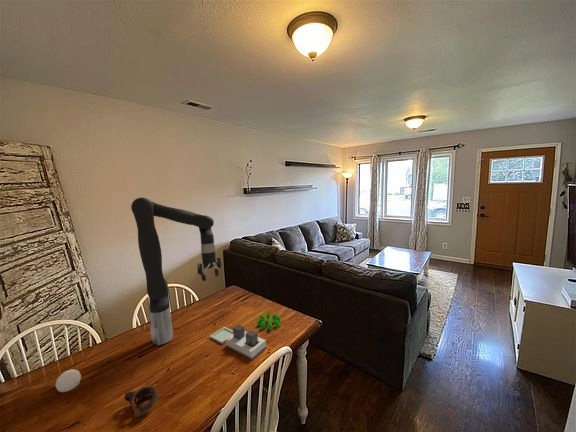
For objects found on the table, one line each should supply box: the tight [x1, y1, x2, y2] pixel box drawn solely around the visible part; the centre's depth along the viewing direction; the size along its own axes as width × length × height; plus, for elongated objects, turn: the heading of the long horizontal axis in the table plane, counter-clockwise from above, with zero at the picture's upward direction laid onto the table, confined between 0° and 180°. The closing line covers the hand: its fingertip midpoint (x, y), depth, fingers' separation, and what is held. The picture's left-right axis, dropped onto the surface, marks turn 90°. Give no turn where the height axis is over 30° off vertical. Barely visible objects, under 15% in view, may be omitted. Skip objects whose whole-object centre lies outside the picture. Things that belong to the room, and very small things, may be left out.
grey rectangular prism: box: [245, 329, 259, 347], centre depth 118 cm, size 4×4×8 cm
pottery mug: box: [124, 385, 159, 418], centre depth 90 cm, size 12×9×8 cm
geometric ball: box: [55, 368, 82, 393], centre depth 99 cm, size 8×8×8 cm
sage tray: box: [209, 326, 233, 345], centre depth 132 cm, size 10×10×1 cm
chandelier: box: [255, 311, 283, 331], centre depth 141 cm, size 15×15×7 cm
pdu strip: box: [225, 324, 267, 361], centre depth 121 cm, size 10×18×9 cm, turn 55°
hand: (210, 278), depth 140 cm, fingers open, 8 cm apart
